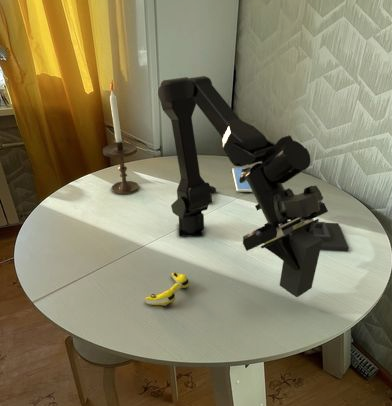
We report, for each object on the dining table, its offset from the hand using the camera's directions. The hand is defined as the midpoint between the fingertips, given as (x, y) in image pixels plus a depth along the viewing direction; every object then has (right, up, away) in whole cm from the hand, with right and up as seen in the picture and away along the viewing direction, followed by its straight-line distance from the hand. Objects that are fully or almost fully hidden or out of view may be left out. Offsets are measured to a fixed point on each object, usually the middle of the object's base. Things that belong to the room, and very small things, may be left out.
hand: (305, 264), depth 68 cm
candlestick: (-46, +22, +55) cm, 74 cm away
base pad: (+10, +5, +28) cm, 31 cm away
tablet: (-1, +25, +58) cm, 64 cm away
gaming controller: (-18, +18, +49) cm, 55 cm away
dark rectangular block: (-1, -5, +5) cm, 7 cm away
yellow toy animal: (-27, -8, +10) cm, 30 cm away
